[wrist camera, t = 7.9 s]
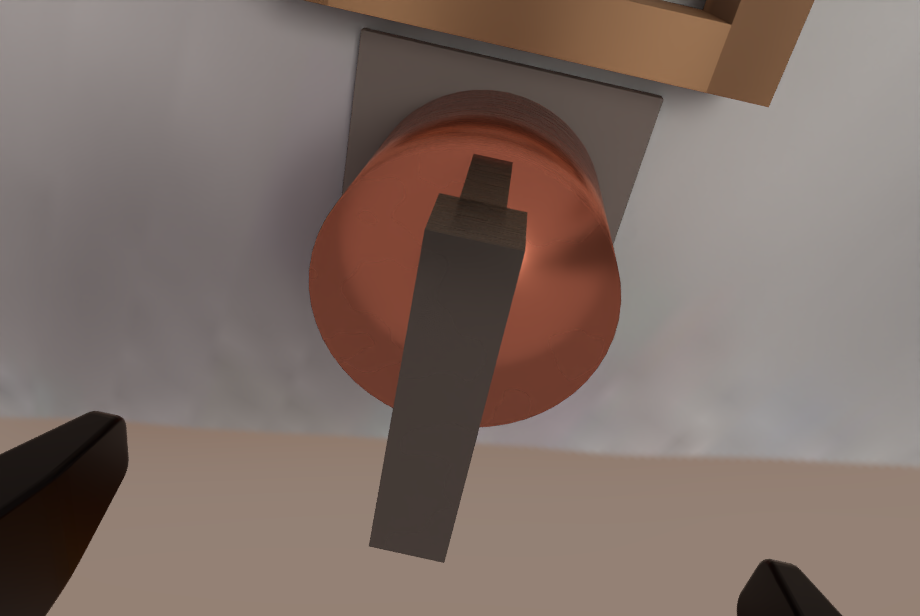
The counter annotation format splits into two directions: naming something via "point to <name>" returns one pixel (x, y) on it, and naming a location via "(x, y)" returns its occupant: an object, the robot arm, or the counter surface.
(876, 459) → the counter surface
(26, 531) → the robot arm
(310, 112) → the counter surface
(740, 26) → the holder
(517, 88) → the mat
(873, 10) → the counter surface
